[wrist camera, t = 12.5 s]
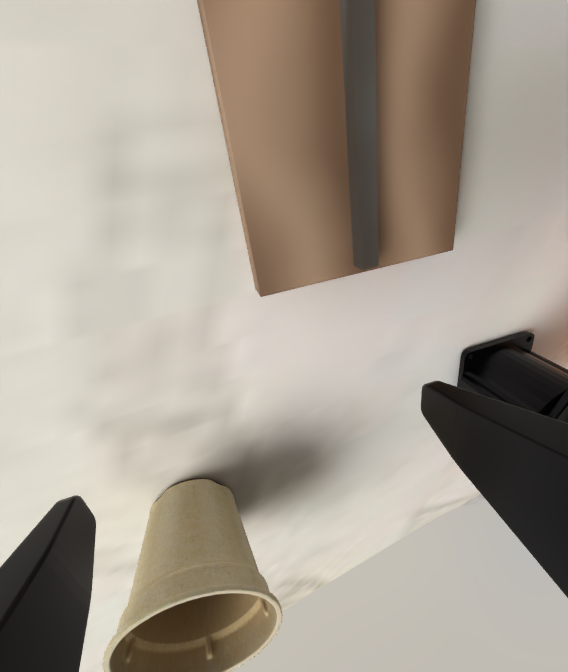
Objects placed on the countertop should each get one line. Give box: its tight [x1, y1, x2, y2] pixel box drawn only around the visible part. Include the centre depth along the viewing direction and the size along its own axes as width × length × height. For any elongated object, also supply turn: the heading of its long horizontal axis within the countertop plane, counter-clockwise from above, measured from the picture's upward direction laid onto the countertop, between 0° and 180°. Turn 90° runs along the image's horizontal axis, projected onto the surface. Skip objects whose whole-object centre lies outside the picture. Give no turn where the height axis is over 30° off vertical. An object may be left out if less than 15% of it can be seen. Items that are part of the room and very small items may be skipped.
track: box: [197, 0, 476, 297], centre depth 13 cm, size 12×22×6 cm, turn 9°
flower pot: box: [102, 479, 282, 672], centre depth 22 cm, size 9×9×9 cm
